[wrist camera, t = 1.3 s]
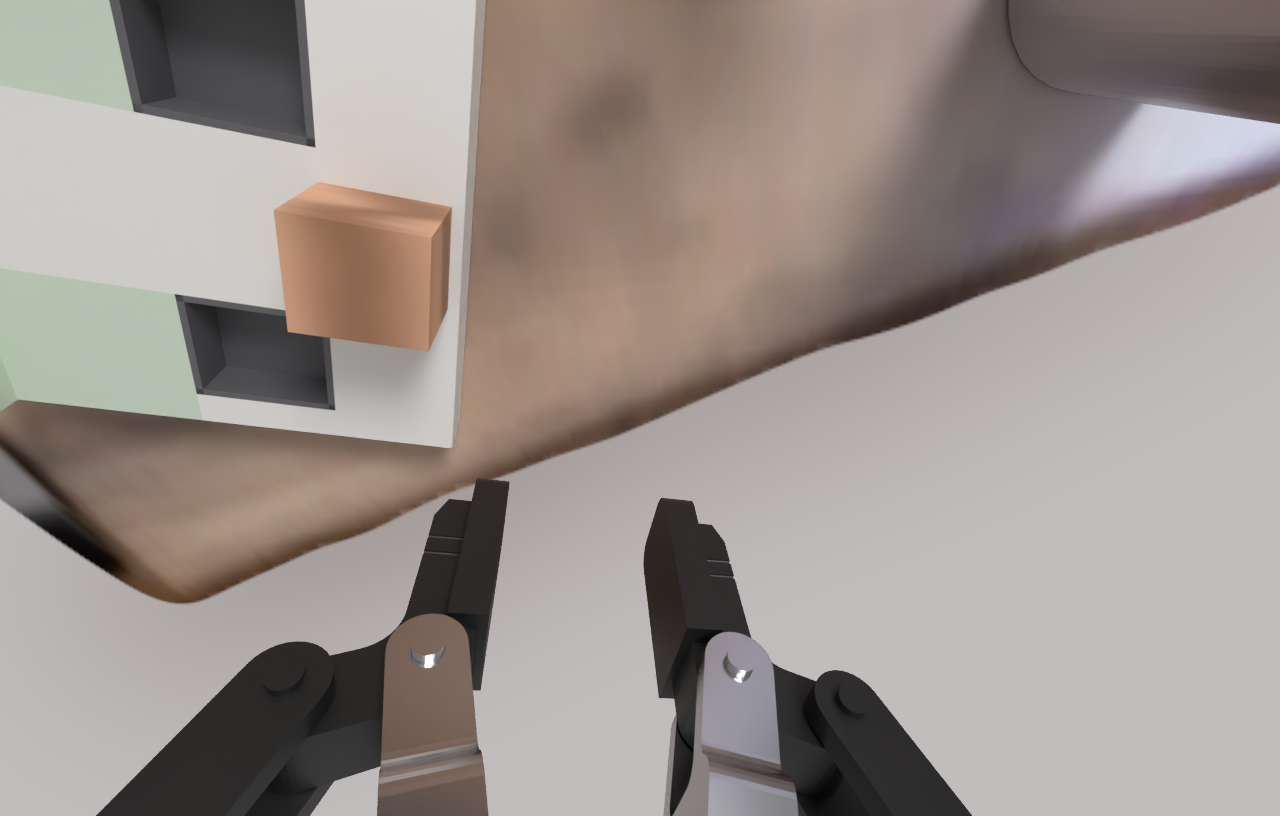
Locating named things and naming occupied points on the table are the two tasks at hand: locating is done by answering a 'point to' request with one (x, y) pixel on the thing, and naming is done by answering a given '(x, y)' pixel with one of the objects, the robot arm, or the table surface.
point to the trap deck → (223, 202)
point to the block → (364, 266)
